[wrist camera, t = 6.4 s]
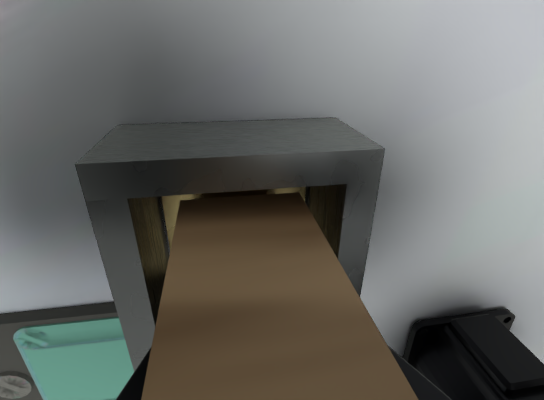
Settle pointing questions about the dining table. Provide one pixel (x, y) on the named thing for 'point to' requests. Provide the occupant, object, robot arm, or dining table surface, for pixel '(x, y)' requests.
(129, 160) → the gray open box
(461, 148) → the dining table surface
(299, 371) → the rail post
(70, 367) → the smartphone
